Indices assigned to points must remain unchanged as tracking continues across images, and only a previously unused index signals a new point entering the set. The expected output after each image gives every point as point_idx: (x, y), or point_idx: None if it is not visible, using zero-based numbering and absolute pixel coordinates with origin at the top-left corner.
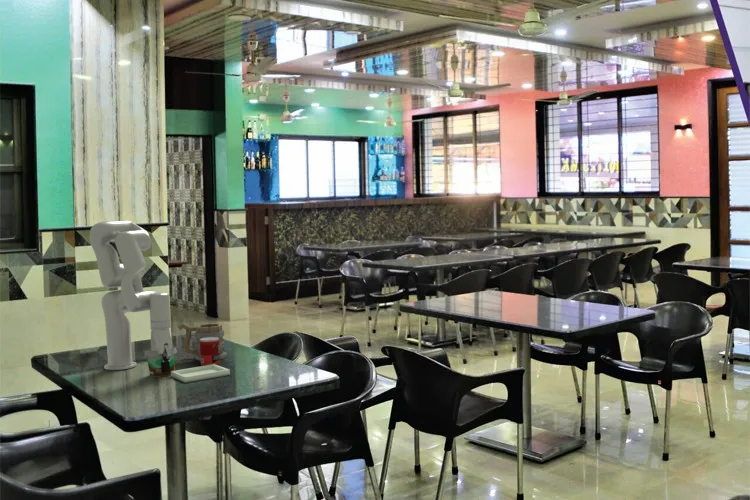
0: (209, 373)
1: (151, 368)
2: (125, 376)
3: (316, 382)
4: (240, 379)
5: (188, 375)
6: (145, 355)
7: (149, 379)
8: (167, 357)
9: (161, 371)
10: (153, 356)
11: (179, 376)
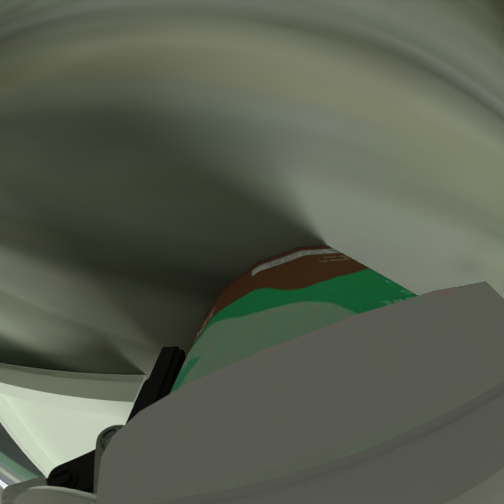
0: (35, 464)
1: (268, 280)
2: (407, 50)
3: (2, 489)
4: (24, 471)
5: (85, 433)
6: (436, 297)
7: (127, 198)
8: (45, 482)
9: (172, 349)
10: (119, 434)
11: (14, 379)
